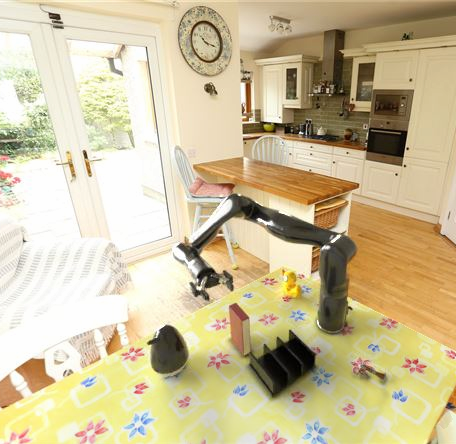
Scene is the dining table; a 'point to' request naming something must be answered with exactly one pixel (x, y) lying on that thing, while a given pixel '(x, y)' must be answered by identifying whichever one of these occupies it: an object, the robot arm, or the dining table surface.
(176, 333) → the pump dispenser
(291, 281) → the duckling
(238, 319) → the book
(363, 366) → the brown two-tone jointed fixture
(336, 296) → the robot arm
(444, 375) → the dining table surface
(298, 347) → the book rack
